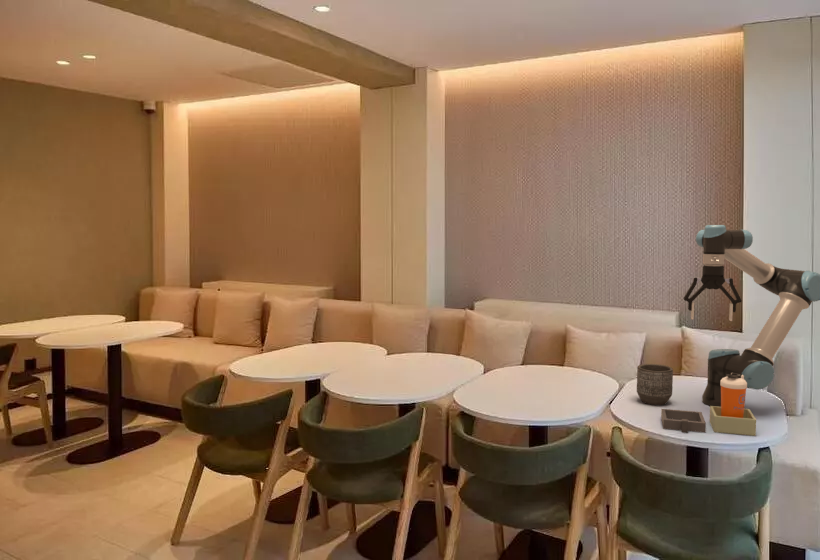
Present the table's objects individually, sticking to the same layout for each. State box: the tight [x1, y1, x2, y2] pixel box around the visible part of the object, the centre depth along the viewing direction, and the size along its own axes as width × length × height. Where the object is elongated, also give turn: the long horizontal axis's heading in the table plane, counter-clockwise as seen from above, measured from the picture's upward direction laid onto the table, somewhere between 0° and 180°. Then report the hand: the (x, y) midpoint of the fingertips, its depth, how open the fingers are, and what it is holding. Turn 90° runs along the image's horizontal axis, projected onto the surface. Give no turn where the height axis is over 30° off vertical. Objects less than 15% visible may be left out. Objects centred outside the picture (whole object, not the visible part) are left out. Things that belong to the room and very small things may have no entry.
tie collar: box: [660, 408, 707, 434], centre depth 243 cm, size 17×14×4 cm
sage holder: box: [709, 405, 757, 437], centre depth 239 cm, size 14×14×6 cm
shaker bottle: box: [720, 373, 748, 418], centre depth 239 cm, size 9×9×20 cm
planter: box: [636, 363, 674, 406], centre depth 274 cm, size 14×14×15 cm
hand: (711, 319), depth 249 cm, fingers open, 13 cm apart
